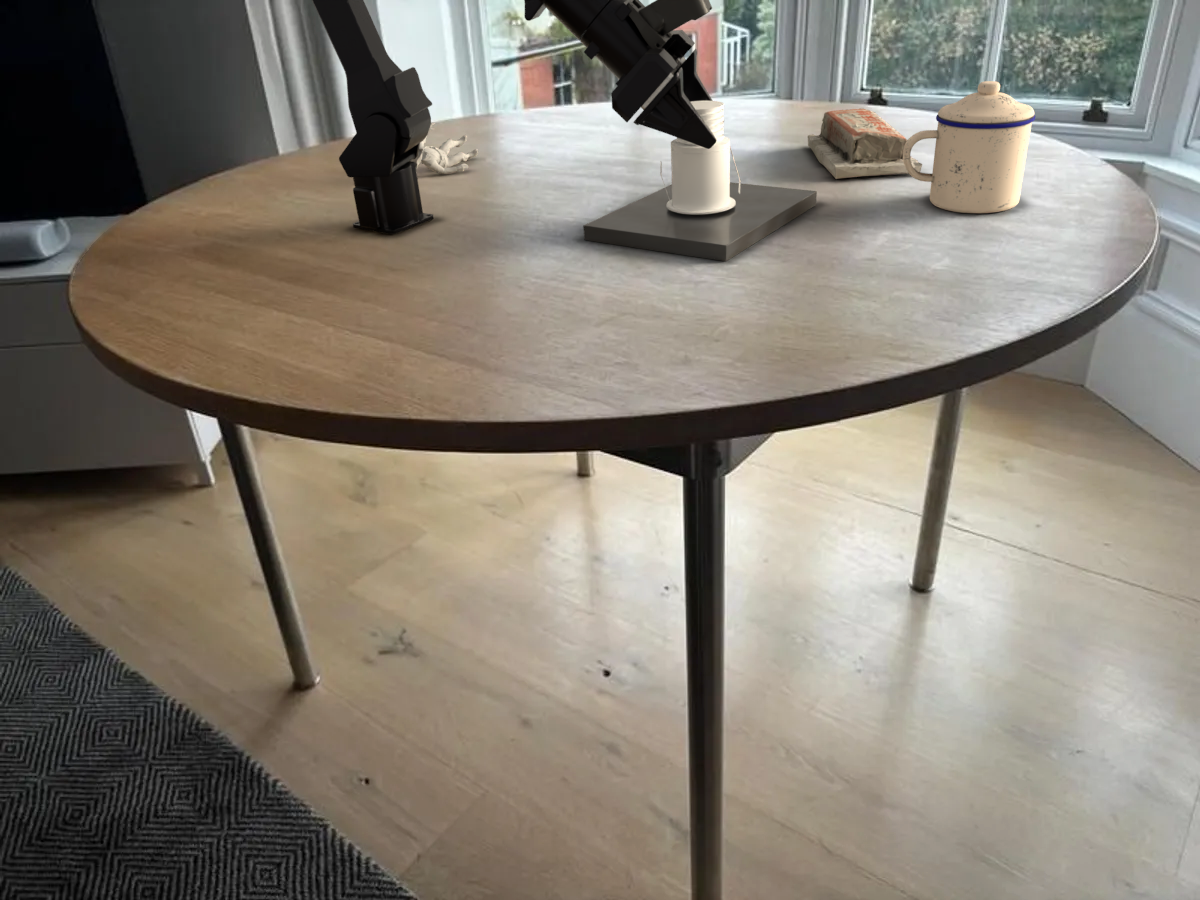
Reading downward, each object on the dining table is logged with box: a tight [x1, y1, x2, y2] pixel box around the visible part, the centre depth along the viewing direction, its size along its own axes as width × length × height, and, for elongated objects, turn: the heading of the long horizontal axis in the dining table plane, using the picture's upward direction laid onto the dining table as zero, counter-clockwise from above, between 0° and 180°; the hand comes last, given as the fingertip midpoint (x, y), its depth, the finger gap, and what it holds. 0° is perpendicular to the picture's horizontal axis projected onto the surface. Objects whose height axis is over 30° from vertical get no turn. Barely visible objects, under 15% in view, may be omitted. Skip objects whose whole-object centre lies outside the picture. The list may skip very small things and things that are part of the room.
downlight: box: [659, 100, 742, 214], centre depth 92 cm, size 8×7×10 cm
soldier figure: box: [411, 122, 479, 175], centre depth 123 cm, size 8×5×12 cm
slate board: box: [582, 181, 818, 262], centre depth 95 cm, size 20×16×2 cm
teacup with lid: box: [903, 80, 1036, 214], centre depth 93 cm, size 12×9×12 cm
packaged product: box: [807, 108, 923, 180], centre depth 113 cm, size 18×5×10 cm
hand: (717, 134), depth 91 cm, fingers open, 9 cm apart
